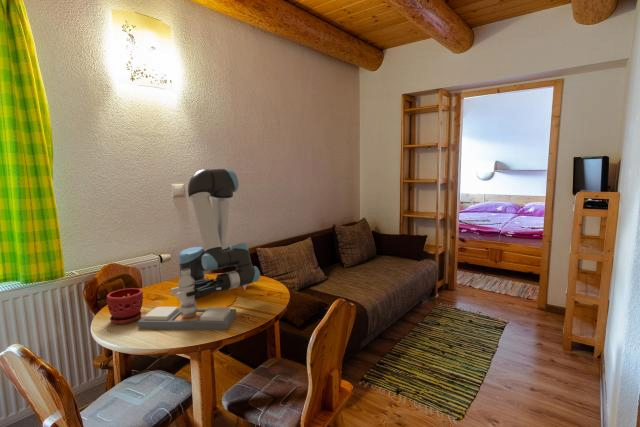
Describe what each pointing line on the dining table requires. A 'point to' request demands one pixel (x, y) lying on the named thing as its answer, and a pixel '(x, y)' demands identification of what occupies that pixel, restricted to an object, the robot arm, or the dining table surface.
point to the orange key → (190, 317)
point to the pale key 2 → (215, 314)
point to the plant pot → (125, 305)
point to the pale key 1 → (161, 313)
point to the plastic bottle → (188, 304)
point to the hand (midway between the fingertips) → (174, 294)
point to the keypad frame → (187, 323)
